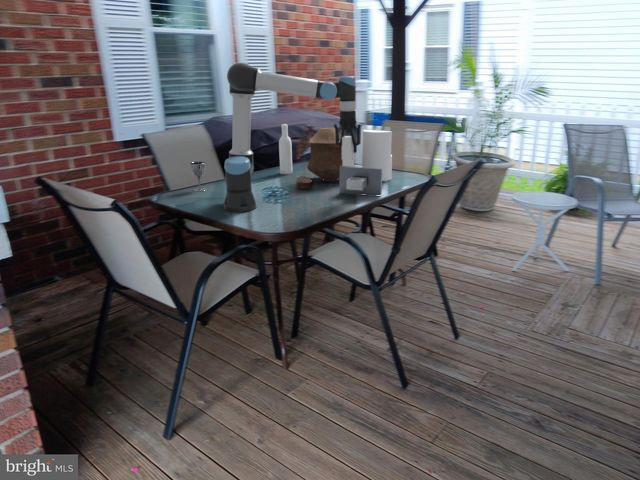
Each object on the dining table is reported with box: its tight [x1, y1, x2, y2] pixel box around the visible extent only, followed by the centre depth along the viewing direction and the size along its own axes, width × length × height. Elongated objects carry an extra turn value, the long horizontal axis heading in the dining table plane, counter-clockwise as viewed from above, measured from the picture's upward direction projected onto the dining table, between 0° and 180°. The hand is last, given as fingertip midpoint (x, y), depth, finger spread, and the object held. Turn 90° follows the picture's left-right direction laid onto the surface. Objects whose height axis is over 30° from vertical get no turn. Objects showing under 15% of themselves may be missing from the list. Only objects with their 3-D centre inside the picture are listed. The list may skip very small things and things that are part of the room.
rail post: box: [342, 135, 355, 167], centre depth 236 cm, size 4×4×14 cm
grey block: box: [339, 166, 383, 196], centre depth 244 cm, size 12×22×14 cm, turn 70°
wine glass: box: [189, 160, 207, 193], centre depth 262 cm, size 8×8×15 cm
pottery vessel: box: [306, 127, 351, 181], centre depth 279 cm, size 26×26×30 cm
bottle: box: [278, 123, 294, 175], centre depth 299 cm, size 8×8×30 cm
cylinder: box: [361, 129, 393, 181], centre depth 281 cm, size 17×17×28 cm
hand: (348, 159), depth 238 cm, fingers closed on rail post, 4 cm apart
